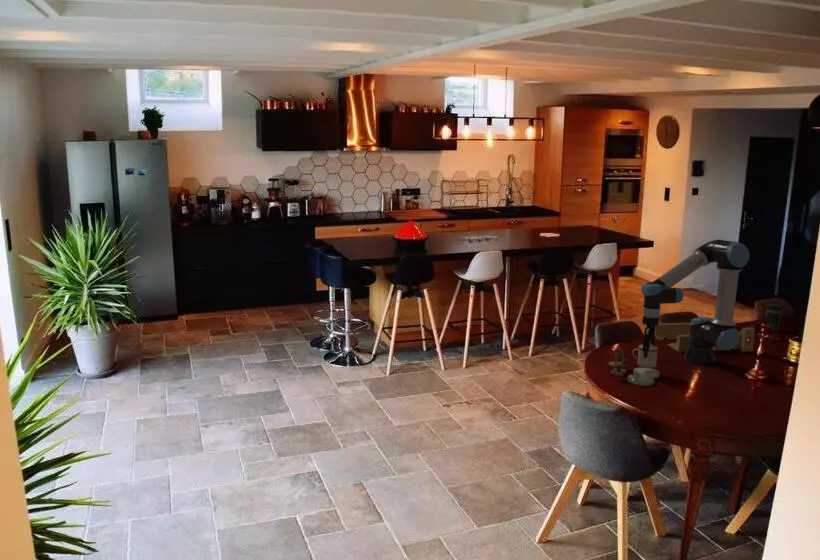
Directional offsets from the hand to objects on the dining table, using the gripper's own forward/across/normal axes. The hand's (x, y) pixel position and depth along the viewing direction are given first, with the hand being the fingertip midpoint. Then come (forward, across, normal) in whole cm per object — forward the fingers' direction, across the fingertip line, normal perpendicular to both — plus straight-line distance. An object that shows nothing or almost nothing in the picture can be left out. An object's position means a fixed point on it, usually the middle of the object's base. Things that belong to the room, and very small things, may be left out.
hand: (647, 361), depth 335 cm
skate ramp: (+7, -71, +16) cm, 73 cm away
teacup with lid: (+2, 0, -2) cm, 3 cm away
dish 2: (+7, +13, 0) cm, 15 cm away
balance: (+7, +6, -12) cm, 15 cm away
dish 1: (+7, 0, 0) cm, 7 cm away
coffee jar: (+6, -126, +49) cm, 135 cm away
